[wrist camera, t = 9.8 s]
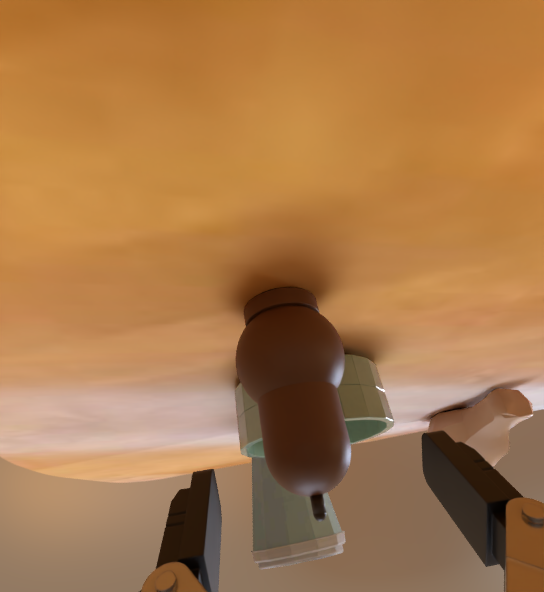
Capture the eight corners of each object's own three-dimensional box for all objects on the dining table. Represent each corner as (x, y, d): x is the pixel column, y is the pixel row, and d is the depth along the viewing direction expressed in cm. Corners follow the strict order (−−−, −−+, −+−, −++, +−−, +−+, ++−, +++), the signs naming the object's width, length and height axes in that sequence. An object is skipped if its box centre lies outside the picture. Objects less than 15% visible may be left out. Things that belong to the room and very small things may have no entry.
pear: (247, 273, 19) (285, 528, 13) (347, 283, 21) (418, 504, 15) (219, 329, 23) (237, 536, 17) (303, 332, 25) (344, 516, 20)
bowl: (261, 345, 26) (273, 423, 23) (403, 348, 31) (427, 413, 28) (218, 403, 36) (223, 463, 33) (331, 398, 41) (344, 450, 38)
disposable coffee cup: (226, 425, 44) (240, 582, 36) (315, 406, 43) (349, 563, 35) (249, 439, 52) (263, 568, 45) (322, 424, 52) (351, 553, 44)
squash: (406, 426, 65) (420, 482, 59) (463, 370, 49) (488, 437, 44) (465, 429, 65) (484, 484, 59) (538, 374, 50) (573, 440, 44)
